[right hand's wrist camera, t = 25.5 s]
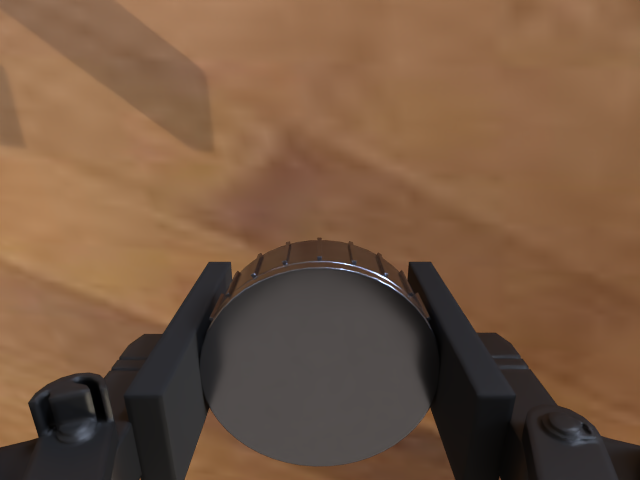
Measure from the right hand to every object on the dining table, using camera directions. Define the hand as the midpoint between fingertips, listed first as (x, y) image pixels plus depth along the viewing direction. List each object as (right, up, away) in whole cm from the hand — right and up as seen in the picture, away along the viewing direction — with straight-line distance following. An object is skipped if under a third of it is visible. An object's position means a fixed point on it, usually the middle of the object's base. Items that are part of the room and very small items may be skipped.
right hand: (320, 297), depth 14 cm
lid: (0, -1, -4) cm, 4 cm away
